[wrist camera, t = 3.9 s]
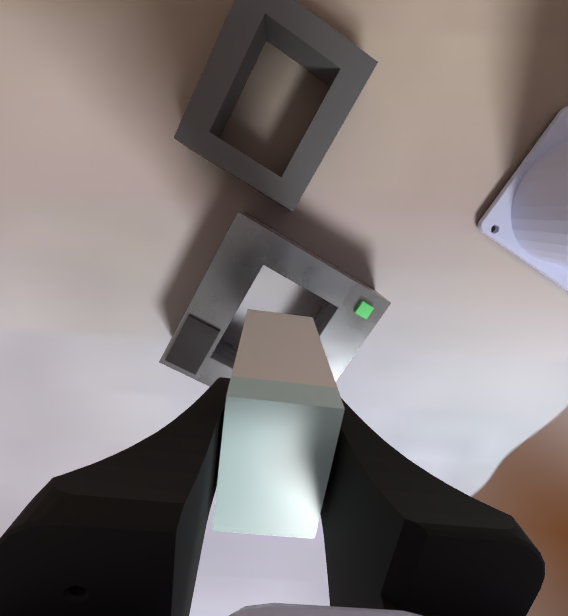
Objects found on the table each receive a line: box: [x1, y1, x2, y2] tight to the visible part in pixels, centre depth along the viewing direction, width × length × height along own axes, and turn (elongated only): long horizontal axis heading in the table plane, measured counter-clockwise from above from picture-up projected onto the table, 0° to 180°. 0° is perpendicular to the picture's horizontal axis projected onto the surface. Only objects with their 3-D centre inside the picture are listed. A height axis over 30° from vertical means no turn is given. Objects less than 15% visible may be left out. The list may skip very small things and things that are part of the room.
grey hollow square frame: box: [174, 0, 378, 211], centre depth 17 cm, size 7×8×2 cm
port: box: [159, 211, 391, 386], centre depth 20 cm, size 10×10×3 cm
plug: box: [212, 309, 345, 539], centre depth 12 cm, size 3×4×7 cm, turn 172°
